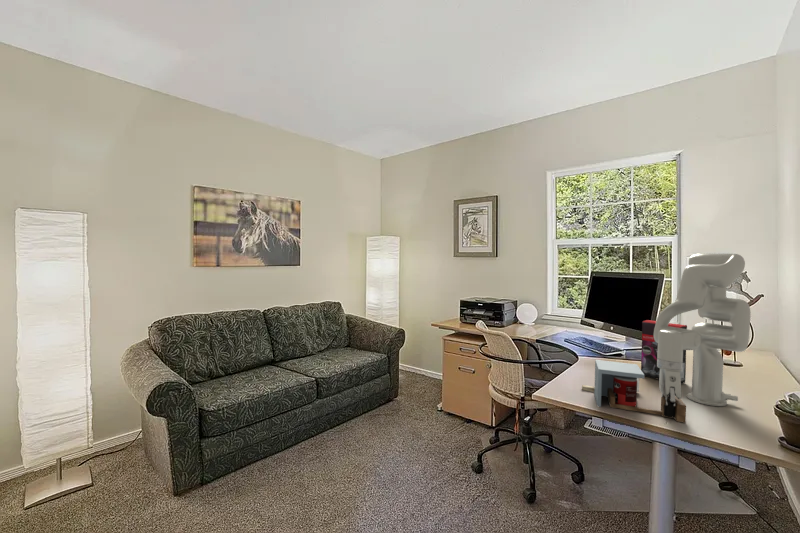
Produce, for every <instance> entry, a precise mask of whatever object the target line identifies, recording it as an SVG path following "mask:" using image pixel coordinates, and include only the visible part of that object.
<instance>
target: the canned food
mask: <svg viewBox="0 0 800 533" xmlns="http://www.w3.org/2000/svg"><path fill="white" fill-rule="evenodd" d="M613 393H614V396H615V404H620V405H626V406H633V407H637V399H638V398H637V395H638V392H637V378H634V377H626V376H618V375H614V379H613Z"/></svg>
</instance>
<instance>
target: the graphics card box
mask: <svg viewBox="0 0 800 533" xmlns="http://www.w3.org/2000/svg"><path fill="white" fill-rule="evenodd" d="M656 321H657V320H649V319H646V320H643V321H642V322H641V358H640V361H641V362H640V369H641V371H642V372H643V373H644V377H648V378H651V379H656V380H659V374H660V368H658V367H657V352H658V343H657V342H656V341H655V340H654V328H655V324H656ZM668 326H670V327H676V328H682V329H688V326H687V324H679V323H671V322H669V324H668ZM686 365H687V350H683V366H682V371H680V377H681V385H682V384H685V383H686V376H687V375H686V374H687V373H686V370H687V369H686V368H687V366H686Z"/></svg>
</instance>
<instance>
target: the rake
mask: <svg viewBox="0 0 800 533" xmlns="http://www.w3.org/2000/svg"><path fill="white" fill-rule="evenodd" d="M606 398H607V401H608V405H609V407H610V408H613V409H621V410H627V411H634V412H640V413H646V414H652V415H653V414H654V415H659V416H662V417H664V418H668V417H667V416H664V405H665V397H662V396H661V398H660V410H658V409H653V408H652V409H651V408H645V407H639V406H636V407H633V406H626V405H620V404H615V396H614V393H613V390H612V388H608V390H607V396H606ZM668 400H670V399H668ZM669 418H671V419H674V420H675V421H676V422H677V423H678V422H679V423H680V422H681V423H686V422H687V420H686V418H687V405H686V404H685V402H684V401H683V400H682V398H681V399H678V398H677V397H676V396H675V417H674V418H673V417H669Z"/></svg>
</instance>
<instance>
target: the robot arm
mask: <svg viewBox="0 0 800 533" xmlns="http://www.w3.org/2000/svg"><path fill="white" fill-rule="evenodd" d="M745 266H746V261H745V259H744V257H743V256H742V255H741V254H738V253H708V252H707V253H696V254H692V255H691V256H689V259H688V265H687V266H686V267H685V268H684V269H683V271H682V274H681V279H680V282H679V287H678V291H677V295H676V298H675V300H673V302H672V303H670V304H668V305H667V306H665V308H664V309H663V310H661V311H660V313H659V314H658V315H657V318H656V320H655V321H656V324H655V328H654V340H655V341H656V342H657V343H658V352H657V367H658V368H660V374H659V379H658V388H659V391H660V393H661V397H665V405H664V416H667V417H666V418H670V417H673V418H672V419H675V418H674V417H675V397H677V398H678V399H681V400H682V384H681V377H680V371H682V366H683V350H686V351H692V352H693V353H692V379H691V392H688V393H686V397H687V398H688V399H689V400H690V401H693V402H696V403H699V404H700V405H701V404H703V405H706V406H712V407H725V406H727V405H728V401H732V402H733V401H734V402H737V401H738V400H739V398H738V396H737V395H733V394H731V393H725V392H724V391H723V383H724V382H723V381H724V376H723V375H724V358H723V356H722V354H721V352H720V351H719V350H724V351H730V352H736V353H741V352H742V353H743V352H745V351H746V350H747V349H748V345H749V342H750V340H749V339H750V327H751V307H750V305H749V303H748V302H747V301H746V300H744V299H740V298H733V297H732V298H729V297H727V288H728V287H730V285H732V284H733V283H734V282H735V280H737V279H738V278H739V277H740V276H741V275H742V273H743V272H744V270H745ZM696 310H697V313H698V316H699V317H700V318H702V319H704V320H709V321H715V322H722V323H730V324H731V325H722V324H716V323H710V322H699V323H695V324H694V325H693V326H692V327H691V329H688V328H687V329H682V328H676V327H670V326H668V324H669V323H671V321H672V319H674V317H676V316H678V315H681V314H683V313H687V312H692V311H696ZM668 399H670V400H668Z"/></svg>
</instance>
